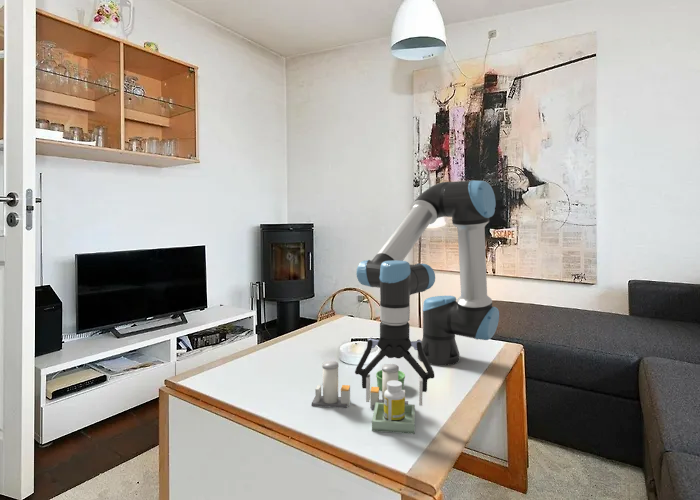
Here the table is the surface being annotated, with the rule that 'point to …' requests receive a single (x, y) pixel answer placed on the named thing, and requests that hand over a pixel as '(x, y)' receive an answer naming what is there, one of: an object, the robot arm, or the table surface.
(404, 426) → the tray
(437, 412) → the table surface
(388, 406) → the supplement bottle
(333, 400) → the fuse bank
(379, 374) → the ramekin
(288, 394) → the table surface
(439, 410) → the table surface
